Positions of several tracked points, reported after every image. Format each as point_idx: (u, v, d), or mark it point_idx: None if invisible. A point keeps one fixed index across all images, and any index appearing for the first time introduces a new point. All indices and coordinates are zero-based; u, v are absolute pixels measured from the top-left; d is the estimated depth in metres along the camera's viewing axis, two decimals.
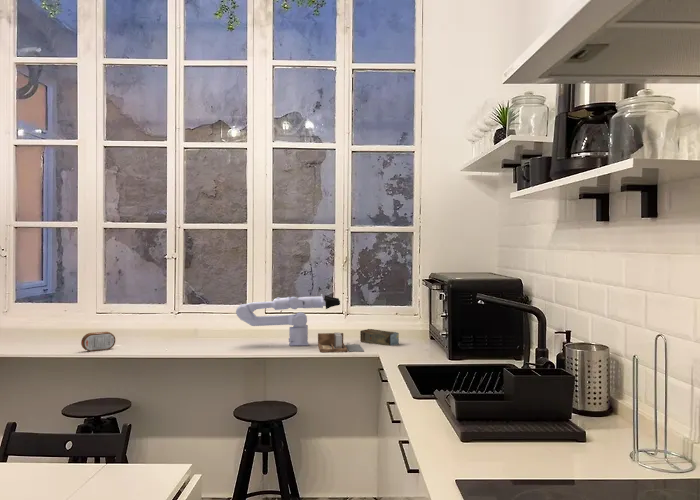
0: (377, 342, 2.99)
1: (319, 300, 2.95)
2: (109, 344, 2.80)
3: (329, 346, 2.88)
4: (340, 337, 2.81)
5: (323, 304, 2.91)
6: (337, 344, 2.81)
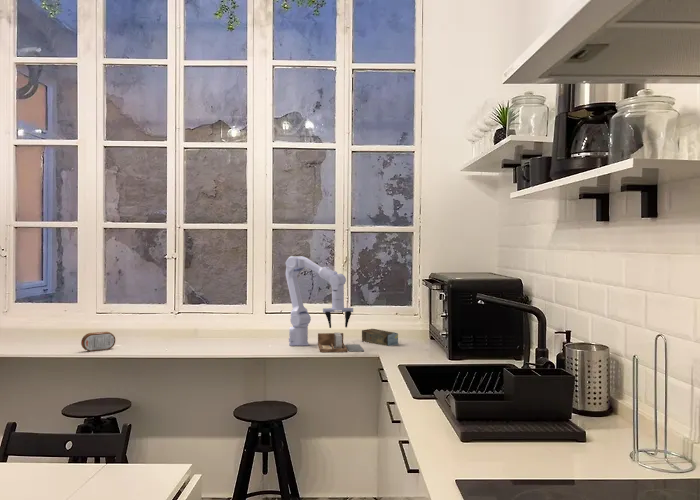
0: (376, 342, 3.00)
1: (332, 306, 2.85)
2: (109, 344, 2.80)
3: (329, 346, 2.88)
4: (340, 337, 2.81)
5: None
6: (337, 344, 2.81)
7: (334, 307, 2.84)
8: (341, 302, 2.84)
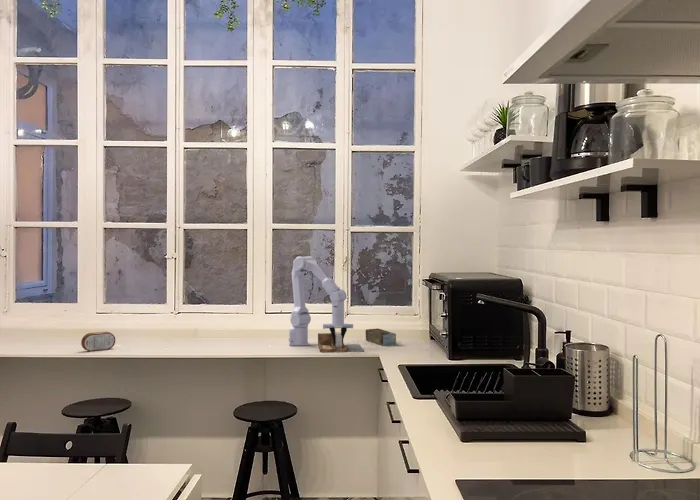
0: (375, 342, 3.01)
1: (332, 322, 2.85)
2: (109, 344, 2.80)
3: (329, 346, 2.88)
4: (340, 337, 2.81)
5: None
6: (337, 344, 2.81)
7: (334, 323, 2.84)
8: (341, 318, 2.84)
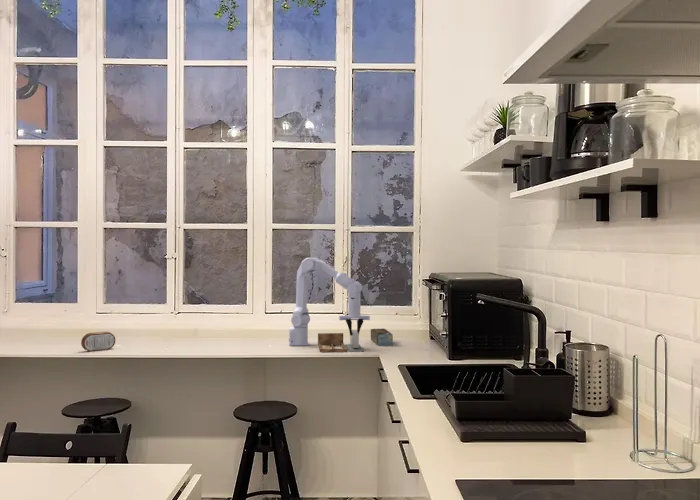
0: (374, 341, 3.02)
1: (349, 314, 2.85)
2: (109, 344, 2.80)
3: (329, 346, 2.88)
4: (357, 334, 2.81)
5: (339, 317, 2.86)
6: (354, 341, 2.81)
7: (351, 315, 2.85)
8: (358, 310, 2.85)
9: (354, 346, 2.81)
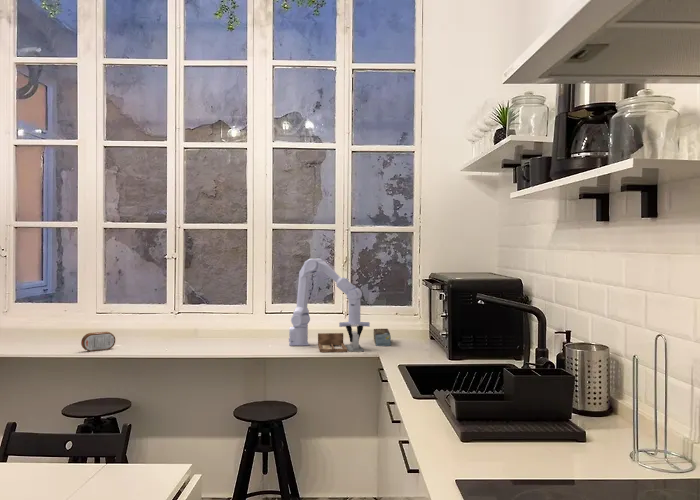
0: (374, 341, 3.02)
1: (349, 321, 2.85)
2: (109, 344, 2.80)
3: (329, 346, 2.88)
4: (357, 336, 2.81)
5: (339, 324, 2.86)
6: (354, 342, 2.81)
7: (350, 321, 2.85)
8: (358, 316, 2.85)
9: (354, 348, 2.81)
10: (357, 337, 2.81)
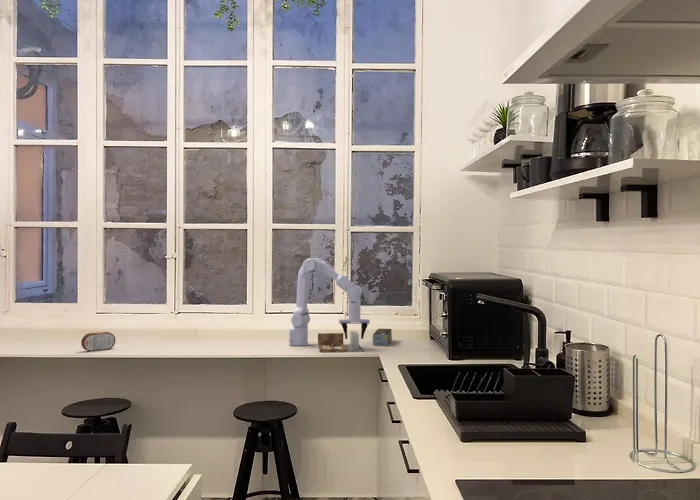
0: None
1: (349, 318, 2.85)
2: (109, 344, 2.80)
3: (329, 346, 2.88)
4: (357, 336, 2.81)
5: (339, 321, 2.86)
6: (354, 342, 2.81)
7: (350, 318, 2.85)
8: (358, 314, 2.85)
9: (354, 348, 2.81)
10: (357, 337, 2.81)
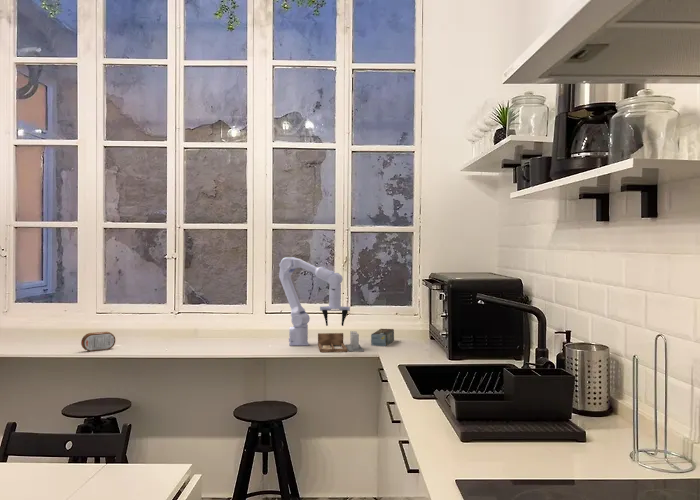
0: None
1: (329, 305, 2.90)
2: (109, 344, 2.80)
3: (329, 346, 2.88)
4: (357, 336, 2.81)
5: (320, 308, 2.91)
6: (354, 342, 2.81)
7: (331, 305, 2.90)
8: (338, 301, 2.89)
9: (354, 348, 2.81)
10: (357, 337, 2.81)
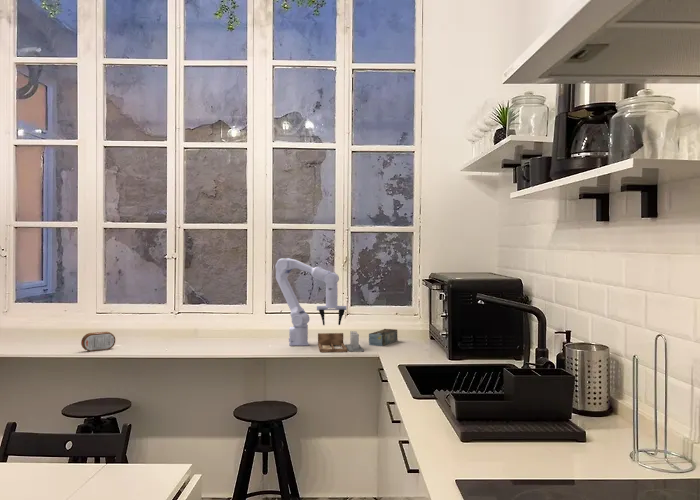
0: None
1: (326, 304, 2.91)
2: (109, 344, 2.80)
3: (329, 346, 2.88)
4: (357, 336, 2.81)
5: None
6: (354, 342, 2.81)
7: (328, 305, 2.90)
8: (335, 300, 2.90)
9: (354, 348, 2.81)
10: (357, 337, 2.81)
